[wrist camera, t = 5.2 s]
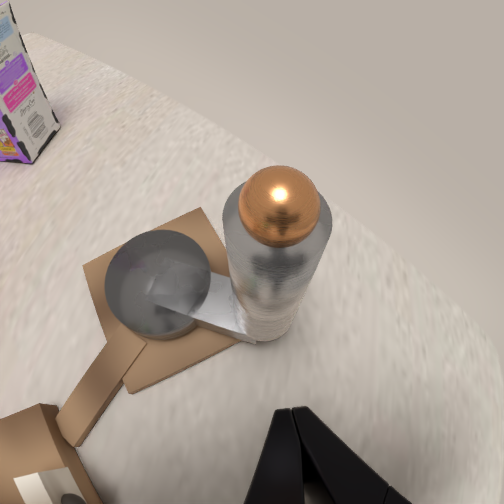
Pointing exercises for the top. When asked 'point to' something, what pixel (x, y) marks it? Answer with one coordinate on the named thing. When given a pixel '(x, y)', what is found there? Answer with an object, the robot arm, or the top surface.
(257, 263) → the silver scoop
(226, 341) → the brown panel stand
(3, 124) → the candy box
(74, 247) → the top surface
